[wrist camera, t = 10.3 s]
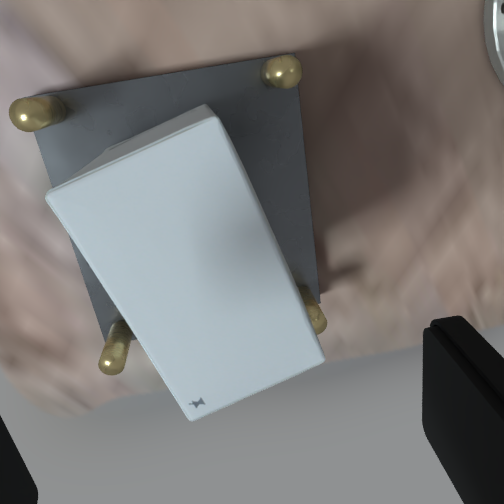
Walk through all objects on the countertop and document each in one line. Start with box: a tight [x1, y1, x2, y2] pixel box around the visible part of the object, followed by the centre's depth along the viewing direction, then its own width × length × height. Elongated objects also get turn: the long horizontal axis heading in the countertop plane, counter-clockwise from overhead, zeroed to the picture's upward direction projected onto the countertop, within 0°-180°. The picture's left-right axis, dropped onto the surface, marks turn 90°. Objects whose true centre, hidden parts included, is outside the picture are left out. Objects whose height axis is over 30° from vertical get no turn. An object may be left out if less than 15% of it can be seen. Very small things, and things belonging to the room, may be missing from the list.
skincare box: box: [45, 104, 325, 421], centre depth 20 cm, size 10×6×10 cm, turn 23°
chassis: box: [9, 53, 327, 375], centre depth 24 cm, size 14×15×4 cm
